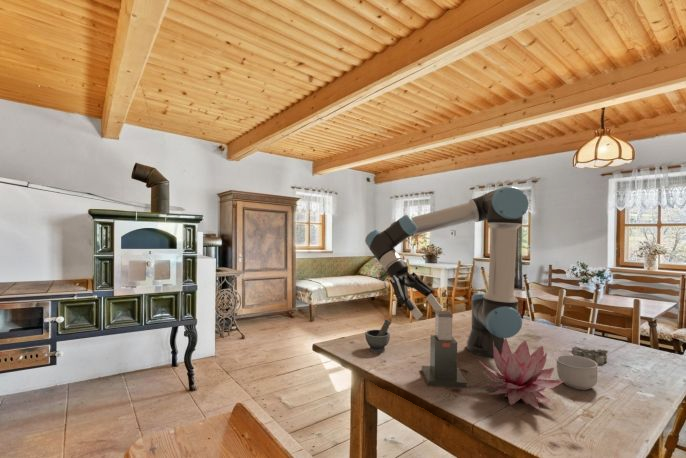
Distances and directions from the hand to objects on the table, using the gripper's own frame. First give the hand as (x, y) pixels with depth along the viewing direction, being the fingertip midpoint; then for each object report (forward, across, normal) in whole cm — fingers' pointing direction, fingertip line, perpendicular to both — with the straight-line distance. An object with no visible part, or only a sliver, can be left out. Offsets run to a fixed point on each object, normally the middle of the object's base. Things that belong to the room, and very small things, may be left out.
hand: (430, 314), depth 113 cm
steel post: (+16, -1, -10) cm, 19 cm away
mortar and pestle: (-4, -6, -33) cm, 34 cm away
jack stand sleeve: (+18, -1, -11) cm, 21 cm away
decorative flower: (+33, -5, +4) cm, 33 cm away
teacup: (+40, -28, +11) cm, 50 cm away
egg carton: (+40, -57, +11) cm, 71 cm away
